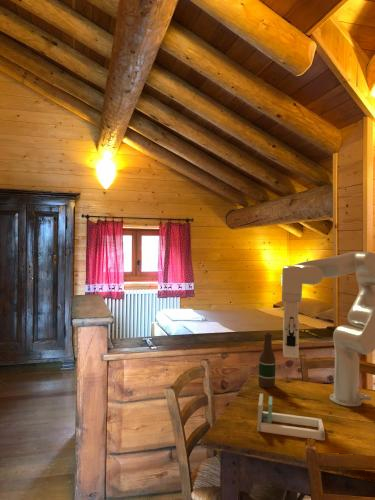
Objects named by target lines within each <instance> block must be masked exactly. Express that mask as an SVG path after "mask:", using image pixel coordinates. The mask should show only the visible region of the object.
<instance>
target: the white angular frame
mask: <svg viewBox="0 0 375 500" xmlns="http://www.w3.org/2000/svg"><path fill="white" fill-rule="evenodd" d="M263 409H264V393H259V398H258V406H257V429H256V430H257V432H262V433H269V434H276V435H281V436H282V435H283V436H288V437H289V436H291V437H297V438H304V439H310V438H311V440H318V441H323V442H324V441H325V440H326V433H325V432H326V431H325V427H324V424H323V420H322V418H317V417H308V416H302V415H294V414H288V413H280V412H279V413H278V412H272V422H276V423H277V422H278V423H282V424H275V423H271V424H269V423H263V418H268V411H263ZM283 423H285V424H292V425H300V426H306V427H315V428H317V429H312V428H306V427H305V428H304V427H296V426H291V425H290V426H289V425H285V424H283Z"/></svg>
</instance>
